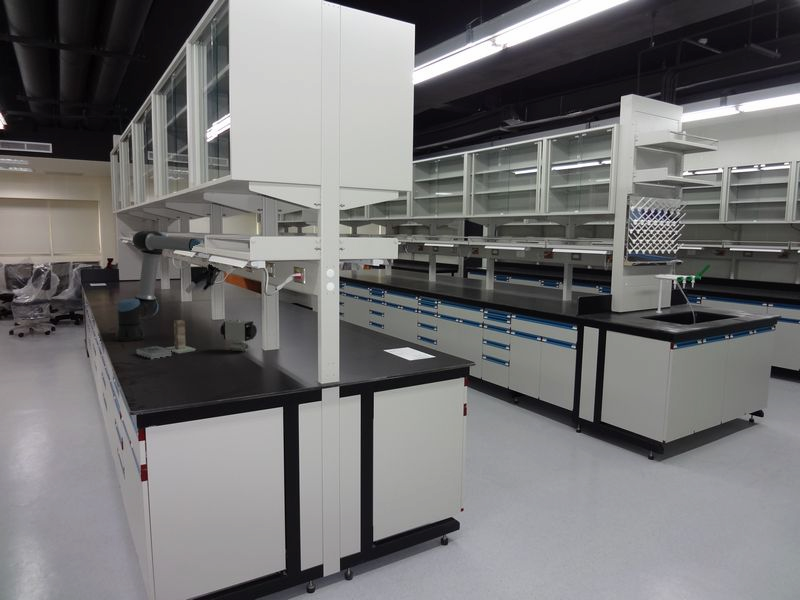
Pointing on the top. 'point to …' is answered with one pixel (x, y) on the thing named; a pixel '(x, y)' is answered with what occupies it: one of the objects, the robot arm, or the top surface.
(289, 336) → the top surface
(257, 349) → the top surface
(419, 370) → the top surface
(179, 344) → the peg
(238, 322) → the bench grinder
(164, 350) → the socket block
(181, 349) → the pad
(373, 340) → the top surface
